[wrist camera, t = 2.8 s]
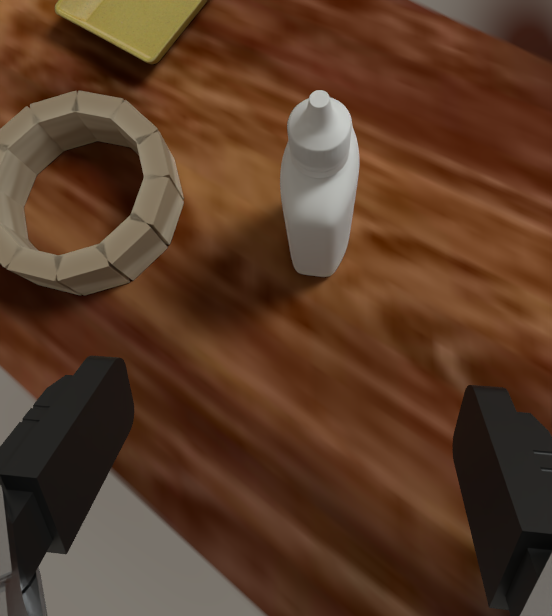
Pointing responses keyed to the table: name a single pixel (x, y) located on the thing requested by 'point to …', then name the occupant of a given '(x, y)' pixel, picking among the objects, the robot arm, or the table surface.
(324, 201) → the eye dropper bottle
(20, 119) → the birch ring collar
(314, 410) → the table surface
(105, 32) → the yellow square tray
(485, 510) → the robot arm
